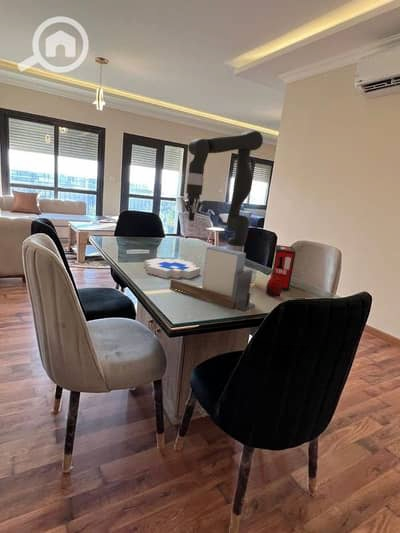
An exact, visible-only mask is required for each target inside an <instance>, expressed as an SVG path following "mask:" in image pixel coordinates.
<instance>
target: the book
mask: <svg viewBox="0 0 400 533" xmlns="http://www.w3.org/2000/svg"><path fill="white" fill-rule="evenodd" d="M246 255H247V253H246V252H244V251H243V252H239V251H234V250H229V249H227V248H225V247H220V246H215V245H214V246H208V247H206V253H205V261H204V262H205V263H204V270H203V280H202V287H201V288H203V289H206V290H210V291H213V292H216V293H220V294H223V295H226V296H229V297H232V290H233V283H234V276H235V274H237V273H240V272H243V271H245V263H246V257H247V256H246Z"/></svg>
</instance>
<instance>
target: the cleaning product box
mask: <svg viewBox="0 0 400 533" xmlns="http://www.w3.org/2000/svg"><path fill="white" fill-rule="evenodd" d="M296 253H297V252H296V250H295V248H294V247H293V246H289V245H288V246H286V245H279V244H275V248H274V254H273V260H272V267H271V270H270V271H271V272H270V277H269V279H270V278H271V277H272V276H274V273H273V272H274V268H273V267H274V266H275V265H276V266H275V268H277V270H276V269H275V276H276V277H277V278H279V279H280V280H281V283H282V290H281V292H288V291H290V287H291V286H290V285H291V279H292V274H293V270H294V263H295V257H296Z"/></svg>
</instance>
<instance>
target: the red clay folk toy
mask: <svg viewBox="0 0 400 533" xmlns="http://www.w3.org/2000/svg"><path fill="white" fill-rule="evenodd" d="M275 266H276V265H275ZM275 266H274V267H273V268H274V272H273V273H274V276H272V277H271V276H270V277H271V278H270V277H269V279H268V282H267V283H266V285H265V286H266V288H265V294H266V295H268V296H269V297H270V296H271V297H274V298H280V297H281V293H282V283H281V280H280V279H279V278H277V277H276V276H275V269H276V270H277V268H275Z"/></svg>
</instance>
